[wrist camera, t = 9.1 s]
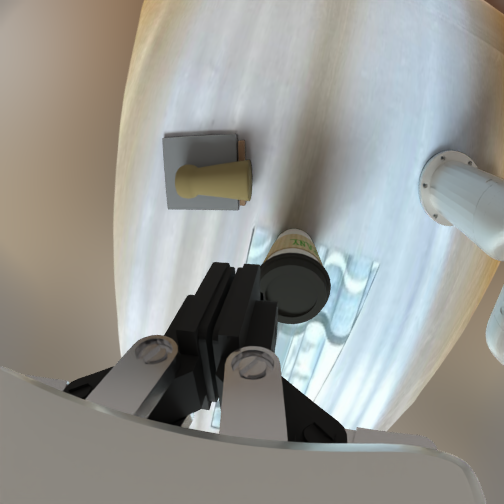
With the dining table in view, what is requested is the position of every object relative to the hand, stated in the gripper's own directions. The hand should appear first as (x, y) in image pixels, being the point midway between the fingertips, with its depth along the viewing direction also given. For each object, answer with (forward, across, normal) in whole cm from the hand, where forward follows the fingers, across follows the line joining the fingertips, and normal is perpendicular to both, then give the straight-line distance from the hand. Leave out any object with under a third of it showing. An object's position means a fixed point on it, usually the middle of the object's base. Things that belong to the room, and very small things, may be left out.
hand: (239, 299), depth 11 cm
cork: (+34, +5, +2) cm, 34 cm away
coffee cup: (+37, -2, +14) cm, 40 cm away
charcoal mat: (+37, +13, +2) cm, 39 cm away
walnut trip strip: (+37, +6, +2) cm, 38 cm away
